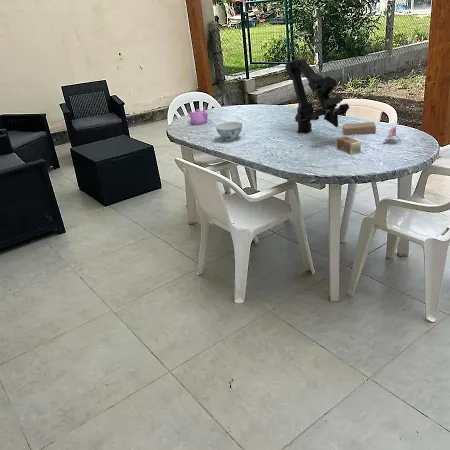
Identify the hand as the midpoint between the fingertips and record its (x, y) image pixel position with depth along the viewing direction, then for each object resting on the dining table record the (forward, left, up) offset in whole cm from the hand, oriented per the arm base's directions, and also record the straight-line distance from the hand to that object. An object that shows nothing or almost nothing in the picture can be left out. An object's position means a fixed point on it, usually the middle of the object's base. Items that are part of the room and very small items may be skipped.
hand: (337, 126), depth 219 cm
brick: (+3, +24, -10) cm, 26 cm away
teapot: (-103, +20, -10) cm, 106 cm away
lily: (+23, +12, -10) cm, 28 cm away
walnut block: (+3, -2, -7) cm, 8 cm away
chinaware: (-61, -5, -10) cm, 62 cm away
